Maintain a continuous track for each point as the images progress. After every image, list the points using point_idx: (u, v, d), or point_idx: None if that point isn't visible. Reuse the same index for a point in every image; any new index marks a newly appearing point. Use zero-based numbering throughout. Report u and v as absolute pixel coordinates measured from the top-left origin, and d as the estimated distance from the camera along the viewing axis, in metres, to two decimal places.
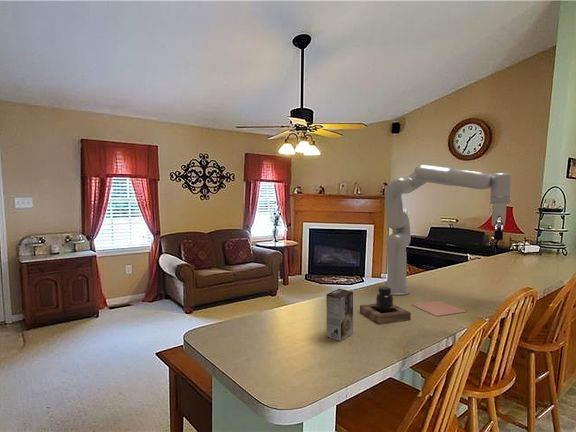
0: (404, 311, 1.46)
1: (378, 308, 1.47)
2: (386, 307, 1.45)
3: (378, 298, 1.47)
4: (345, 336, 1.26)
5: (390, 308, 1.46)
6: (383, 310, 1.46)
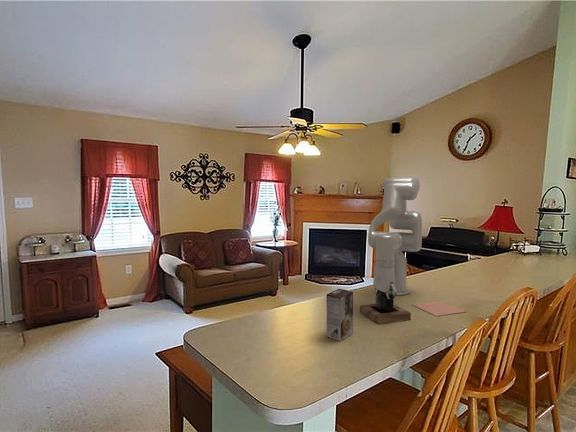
0: (404, 311, 1.46)
1: (378, 308, 1.47)
2: None
3: (378, 298, 1.47)
4: (345, 336, 1.26)
5: (390, 308, 1.46)
6: (383, 310, 1.46)
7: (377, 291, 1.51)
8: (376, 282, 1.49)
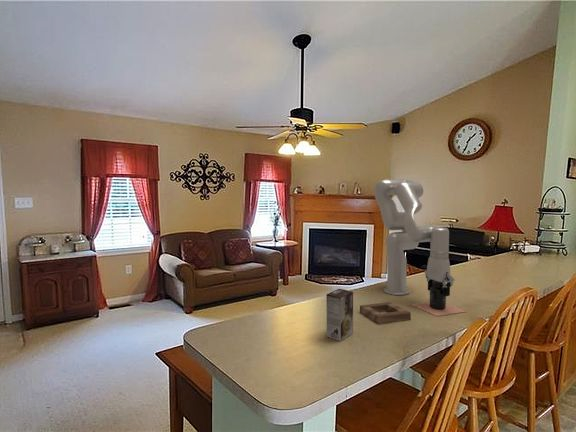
0: (404, 311, 1.46)
1: (432, 300, 1.56)
2: (440, 299, 1.54)
3: (432, 290, 1.56)
4: (345, 336, 1.26)
5: (444, 300, 1.55)
6: (438, 302, 1.55)
7: (429, 280, 1.61)
8: (430, 273, 1.58)
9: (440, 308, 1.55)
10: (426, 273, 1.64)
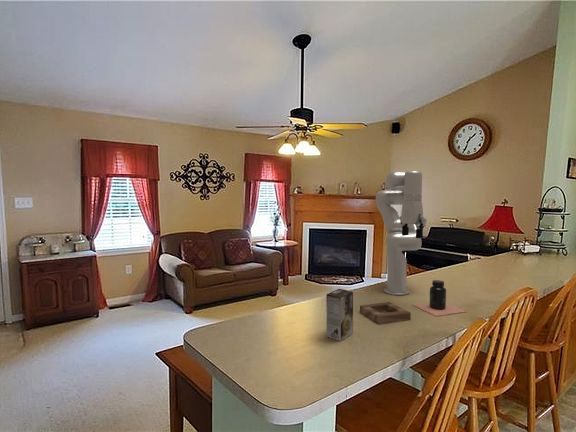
0: (404, 311, 1.46)
1: (432, 300, 1.56)
2: (440, 299, 1.54)
3: (432, 290, 1.56)
4: (345, 336, 1.26)
5: (444, 300, 1.55)
6: (438, 302, 1.55)
7: (403, 225, 1.62)
8: (404, 217, 1.59)
9: (440, 308, 1.55)
10: (401, 219, 1.64)
